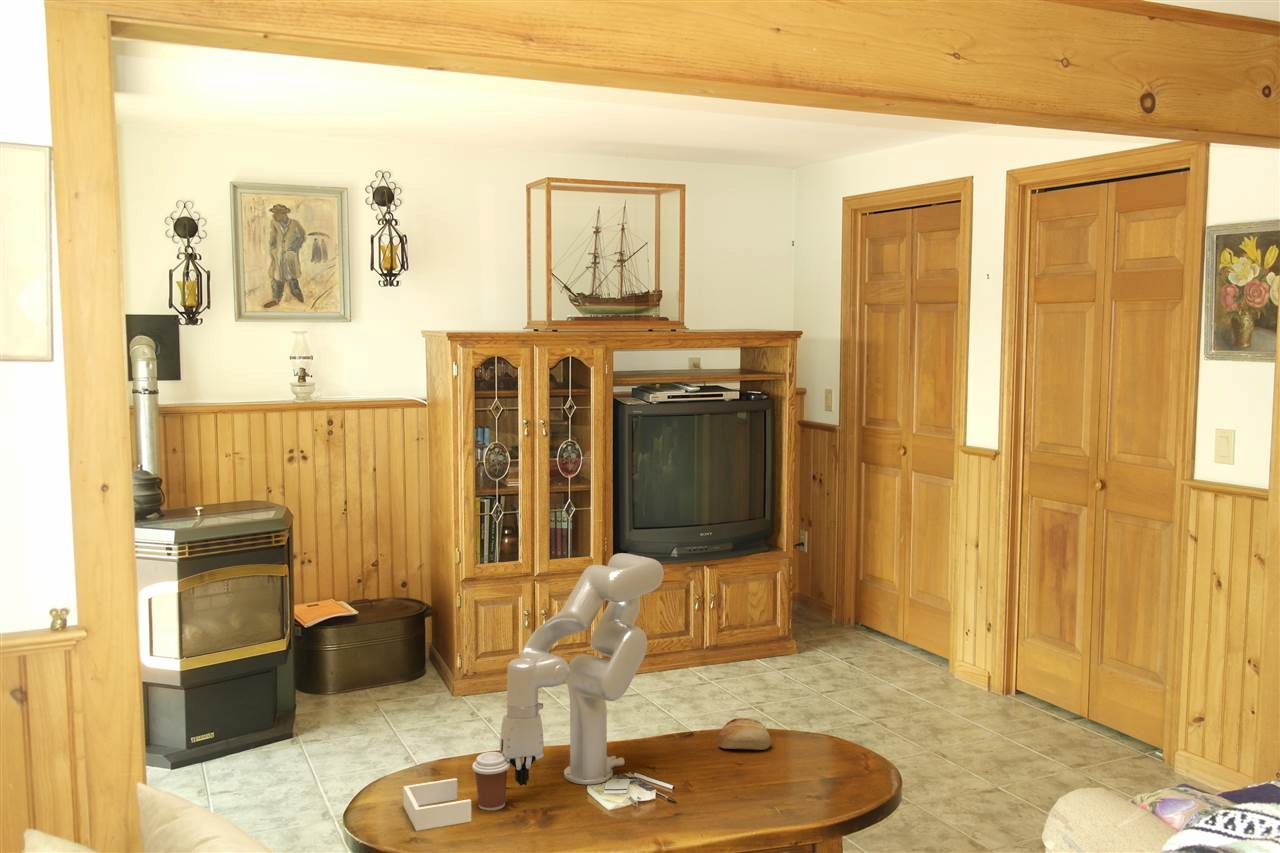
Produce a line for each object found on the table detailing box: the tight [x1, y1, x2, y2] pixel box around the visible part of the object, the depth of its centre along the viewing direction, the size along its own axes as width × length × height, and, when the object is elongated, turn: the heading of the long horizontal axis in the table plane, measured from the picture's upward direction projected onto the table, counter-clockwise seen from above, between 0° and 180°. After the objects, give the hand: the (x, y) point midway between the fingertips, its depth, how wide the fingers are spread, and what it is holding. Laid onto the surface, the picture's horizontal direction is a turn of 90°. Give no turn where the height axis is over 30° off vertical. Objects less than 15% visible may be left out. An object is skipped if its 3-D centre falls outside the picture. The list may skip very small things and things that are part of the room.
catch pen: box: [403, 777, 472, 832], centre depth 263 cm, size 13×14×5 cm
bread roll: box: [717, 717, 772, 751], centre depth 307 cm, size 10×15×8 cm, turn 94°
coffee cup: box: [471, 751, 511, 811], centre depth 268 cm, size 9×9×12 cm
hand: (521, 783), depth 271 cm, fingers closed
